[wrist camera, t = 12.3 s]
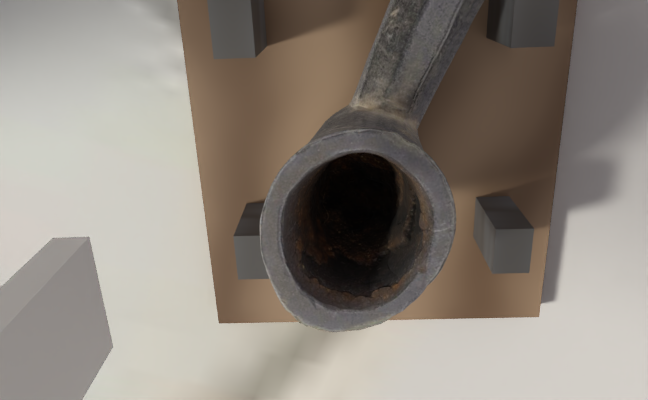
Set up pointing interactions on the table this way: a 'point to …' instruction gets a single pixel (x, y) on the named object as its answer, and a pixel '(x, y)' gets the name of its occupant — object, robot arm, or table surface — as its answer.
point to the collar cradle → (434, 129)
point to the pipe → (369, 184)
